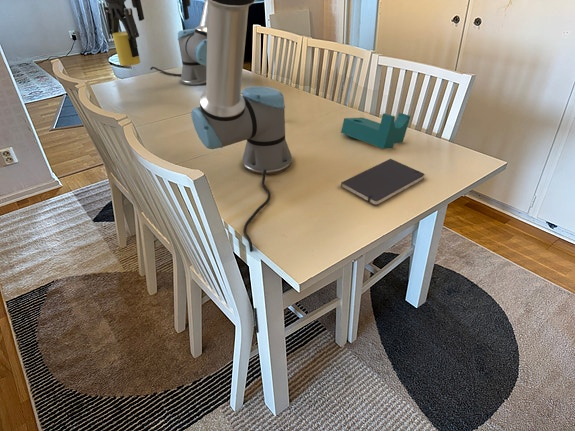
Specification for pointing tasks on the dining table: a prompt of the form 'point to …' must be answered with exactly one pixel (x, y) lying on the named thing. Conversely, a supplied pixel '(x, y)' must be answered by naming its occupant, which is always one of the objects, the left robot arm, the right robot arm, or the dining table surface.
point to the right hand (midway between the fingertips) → (164, 19)
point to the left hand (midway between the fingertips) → (128, 54)
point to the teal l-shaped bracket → (377, 130)
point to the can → (124, 49)
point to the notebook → (382, 181)
